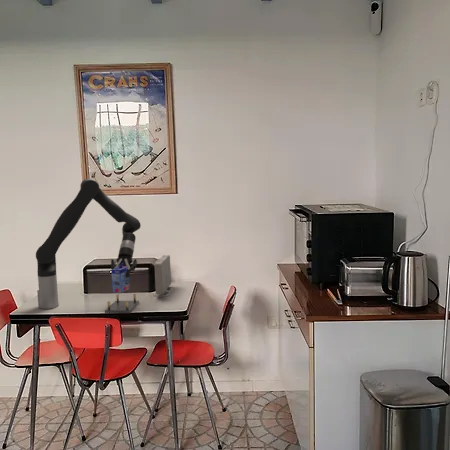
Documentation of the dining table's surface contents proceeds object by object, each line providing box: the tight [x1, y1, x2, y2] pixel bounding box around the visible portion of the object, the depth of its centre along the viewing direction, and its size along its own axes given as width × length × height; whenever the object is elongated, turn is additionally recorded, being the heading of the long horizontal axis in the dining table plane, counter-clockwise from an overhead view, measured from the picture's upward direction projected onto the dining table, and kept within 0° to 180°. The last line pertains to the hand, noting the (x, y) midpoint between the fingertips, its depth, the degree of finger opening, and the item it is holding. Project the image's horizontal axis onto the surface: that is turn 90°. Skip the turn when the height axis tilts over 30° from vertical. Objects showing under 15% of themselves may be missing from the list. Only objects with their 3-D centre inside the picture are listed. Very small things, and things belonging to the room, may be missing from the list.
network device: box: [153, 254, 174, 298], centre depth 259 cm, size 26×9×20 cm, turn 176°
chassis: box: [104, 293, 140, 314], centre depth 230 cm, size 13×17×6 cm
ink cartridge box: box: [110, 263, 130, 294], centre depth 229 cm, size 10×6×14 cm, turn 167°
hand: (121, 277), depth 229 cm, fingers closed on ink cartridge box, 5 cm apart
